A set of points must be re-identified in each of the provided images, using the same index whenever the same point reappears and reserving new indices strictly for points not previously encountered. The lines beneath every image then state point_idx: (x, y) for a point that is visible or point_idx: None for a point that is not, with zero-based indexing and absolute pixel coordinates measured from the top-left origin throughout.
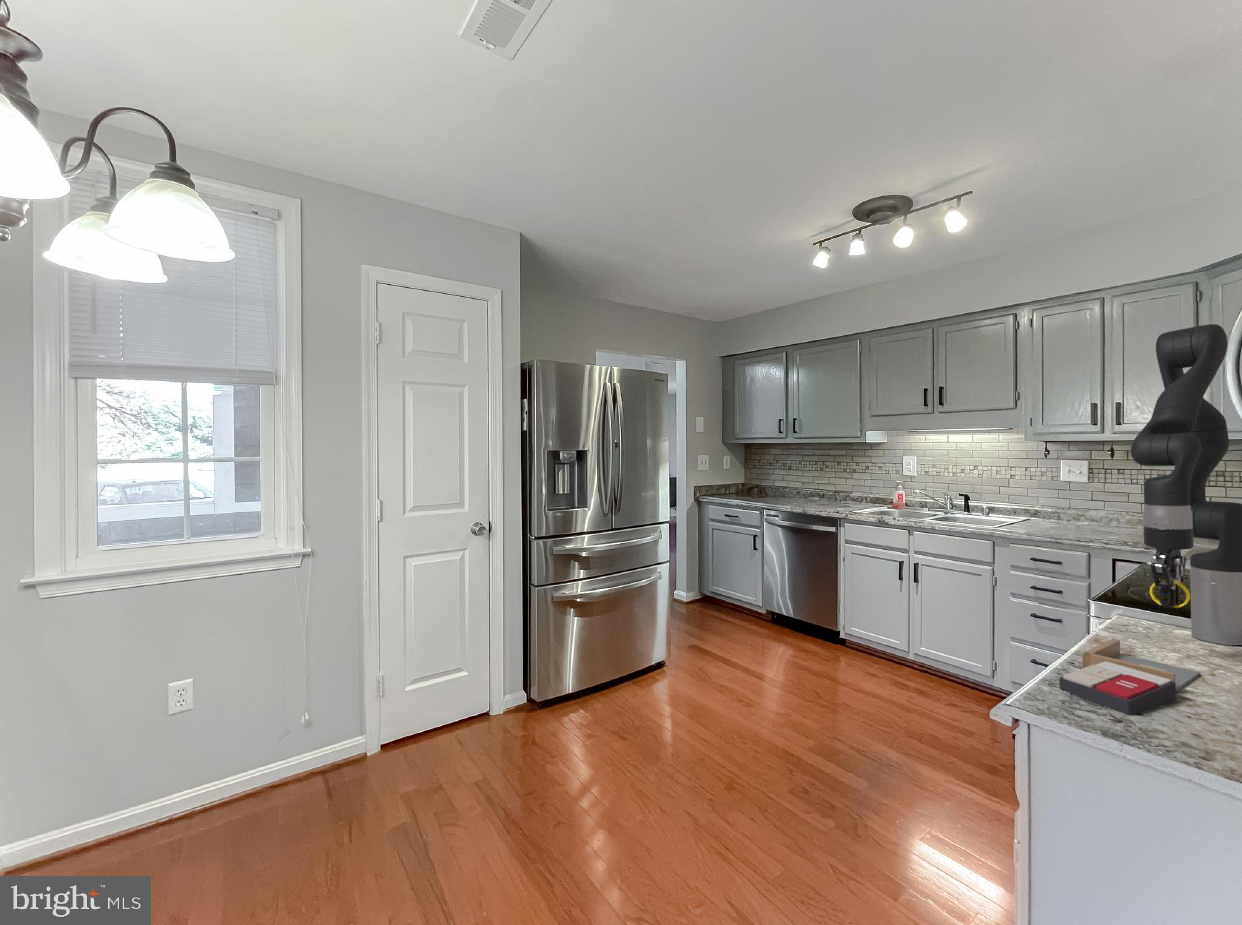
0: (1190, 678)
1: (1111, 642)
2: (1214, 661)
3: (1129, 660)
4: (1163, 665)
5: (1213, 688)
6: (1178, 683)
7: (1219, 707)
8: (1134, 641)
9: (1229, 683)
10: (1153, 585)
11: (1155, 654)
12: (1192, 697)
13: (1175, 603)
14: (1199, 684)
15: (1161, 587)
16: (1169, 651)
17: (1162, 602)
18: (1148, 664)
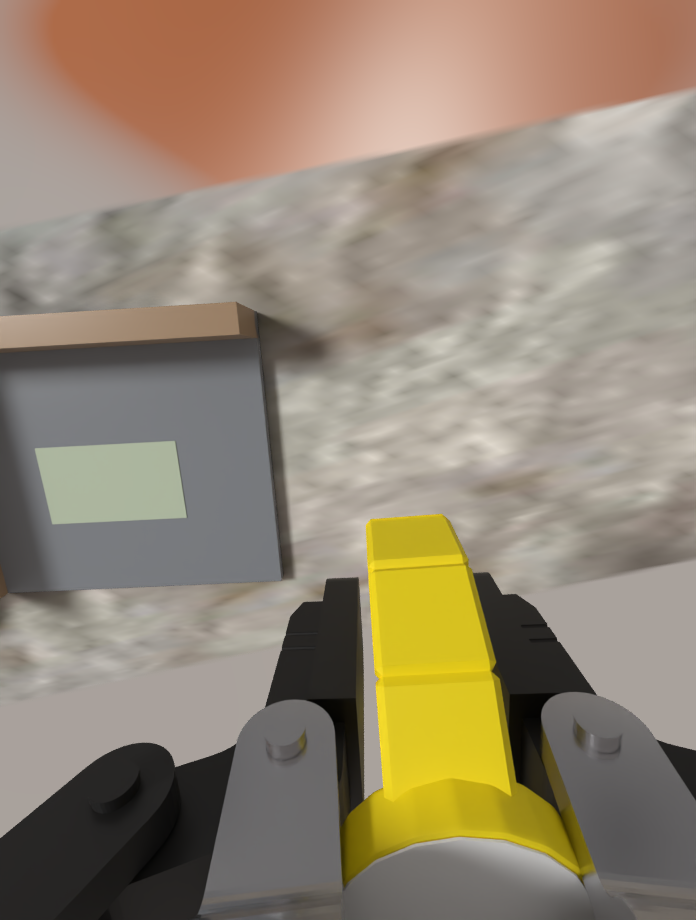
0: (170, 585)
1: (152, 328)
2: (514, 553)
3: (187, 399)
4: (244, 491)
5: (173, 630)
6: (76, 581)
7: (11, 680)
8: (577, 278)
9: (274, 641)
10: (375, 624)
11: (424, 407)
12: (22, 623)
13: (363, 675)
14: (174, 600)
15: (226, 759)
16: (524, 423)
17: (297, 611)
18: (204, 457)
